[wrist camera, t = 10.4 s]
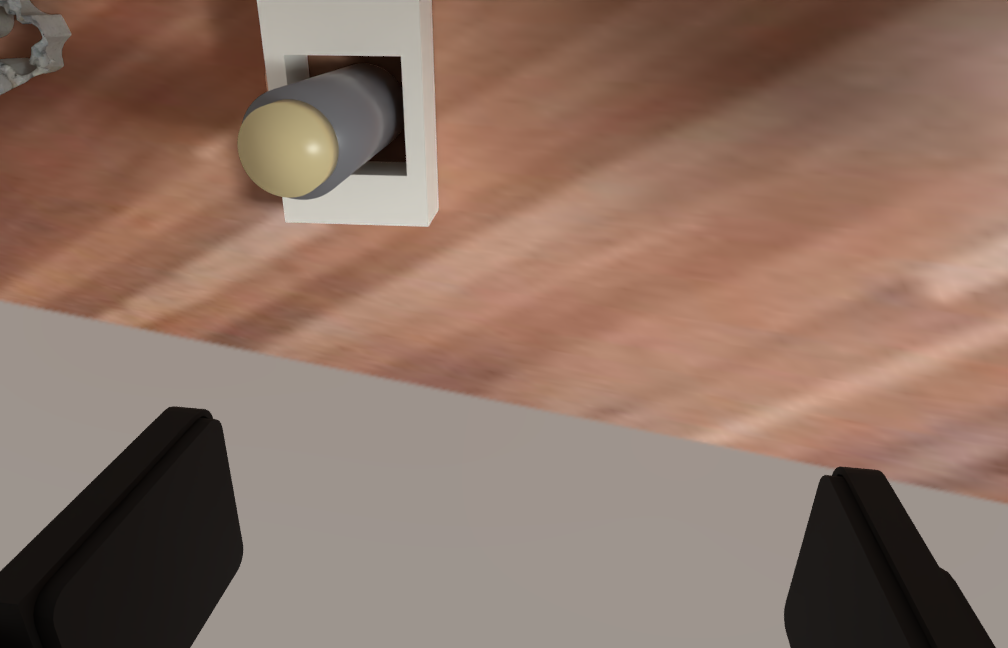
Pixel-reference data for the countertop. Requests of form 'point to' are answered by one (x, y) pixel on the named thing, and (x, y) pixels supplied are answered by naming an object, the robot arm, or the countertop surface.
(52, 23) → the egg carton
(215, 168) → the countertop surface
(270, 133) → the plug
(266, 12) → the socket strip
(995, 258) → the countertop surface
